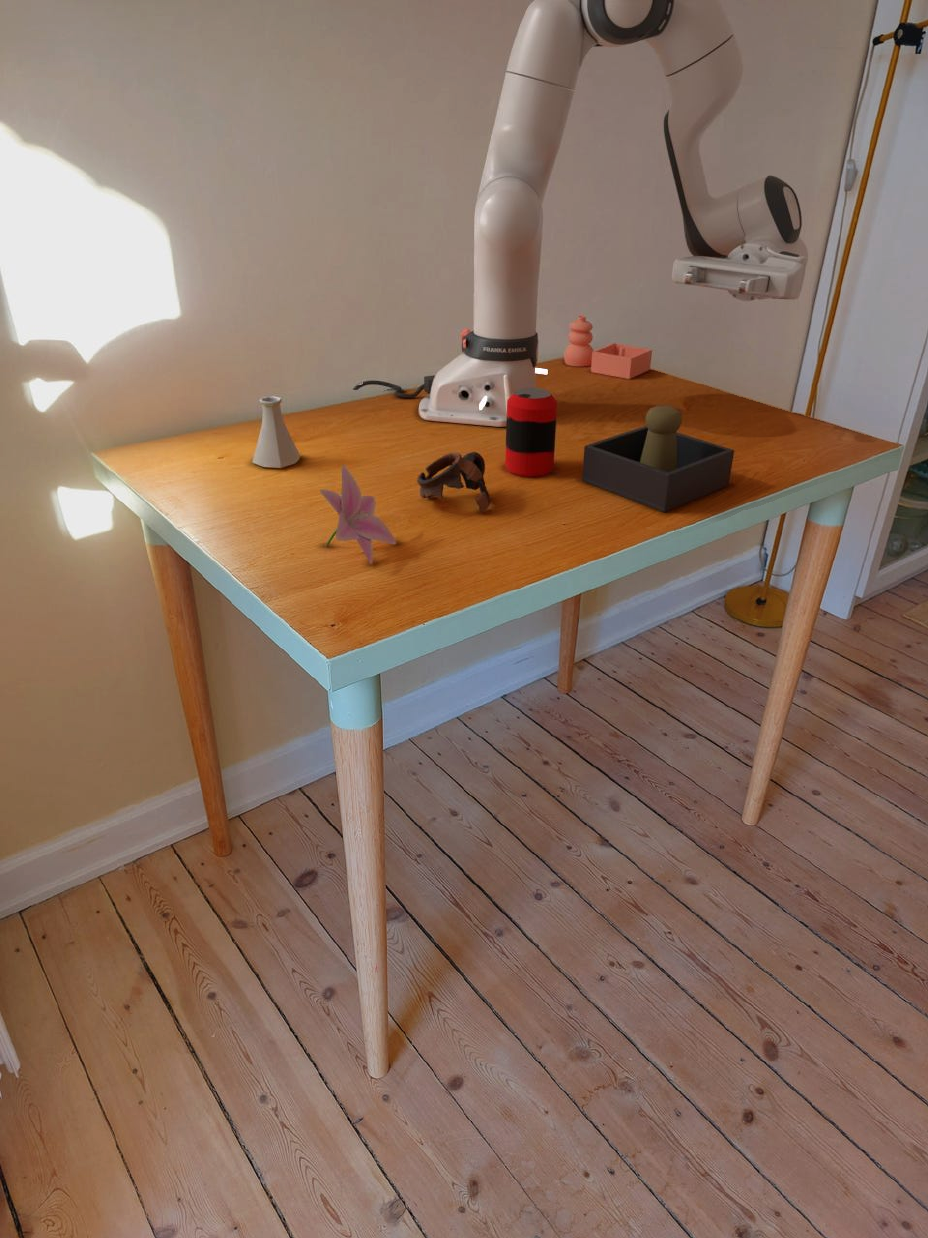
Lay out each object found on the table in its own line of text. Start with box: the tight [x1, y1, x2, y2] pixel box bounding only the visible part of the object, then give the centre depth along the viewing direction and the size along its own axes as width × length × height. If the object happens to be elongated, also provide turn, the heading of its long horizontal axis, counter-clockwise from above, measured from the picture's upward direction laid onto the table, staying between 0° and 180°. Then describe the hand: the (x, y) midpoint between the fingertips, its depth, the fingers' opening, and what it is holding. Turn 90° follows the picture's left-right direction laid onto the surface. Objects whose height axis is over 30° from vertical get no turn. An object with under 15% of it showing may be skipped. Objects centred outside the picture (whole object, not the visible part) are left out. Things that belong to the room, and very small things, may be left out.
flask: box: [252, 395, 301, 469], centre depth 141 cm, size 7×7×10 cm
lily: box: [319, 464, 397, 565], centre depth 114 cm, size 12×12×10 cm
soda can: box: [504, 387, 558, 478], centre depth 138 cm, size 8×8×12 cm
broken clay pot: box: [416, 451, 492, 514], centre depth 129 cm, size 12×10×8 cm
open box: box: [581, 425, 735, 513], centre depth 135 cm, size 16×16×6 cm
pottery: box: [563, 315, 653, 380], centre depth 191 cm, size 18×10×10 cm, turn 53°
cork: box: [640, 405, 683, 472], centre depth 133 cm, size 6×6×11 cm
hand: (714, 282), depth 138 cm, fingers open, 8 cm apart
